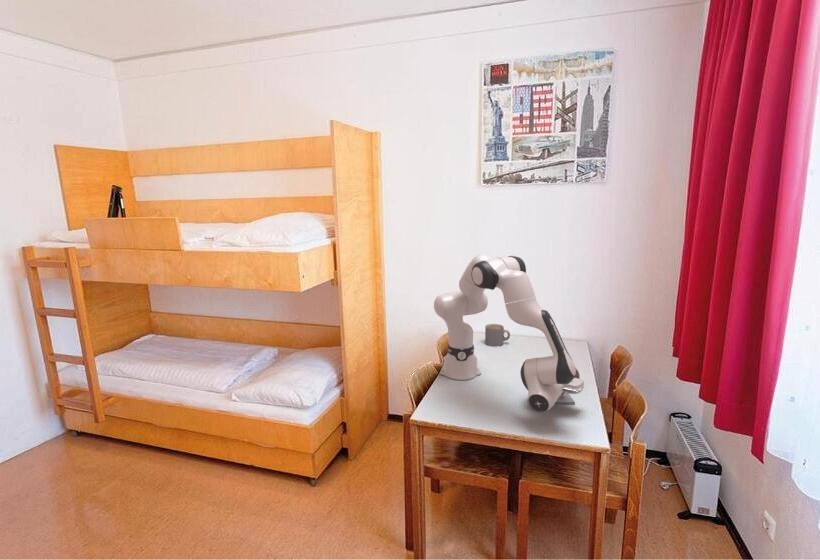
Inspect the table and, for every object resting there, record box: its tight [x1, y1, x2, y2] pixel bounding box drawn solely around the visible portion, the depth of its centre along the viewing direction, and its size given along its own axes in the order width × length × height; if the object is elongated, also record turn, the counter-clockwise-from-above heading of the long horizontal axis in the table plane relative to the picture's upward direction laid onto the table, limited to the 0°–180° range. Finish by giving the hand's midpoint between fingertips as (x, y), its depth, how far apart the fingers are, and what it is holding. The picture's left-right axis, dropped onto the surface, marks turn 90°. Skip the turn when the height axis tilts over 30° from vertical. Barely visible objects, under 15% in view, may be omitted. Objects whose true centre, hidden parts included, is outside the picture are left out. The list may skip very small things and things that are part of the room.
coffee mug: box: [484, 323, 511, 348], centre depth 238 cm, size 13×10×10 cm
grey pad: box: [554, 392, 576, 406], centre depth 173 cm, size 10×10×1 cm
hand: (560, 374), depth 172 cm, fingers closed on walnut block, 4 cm apart
